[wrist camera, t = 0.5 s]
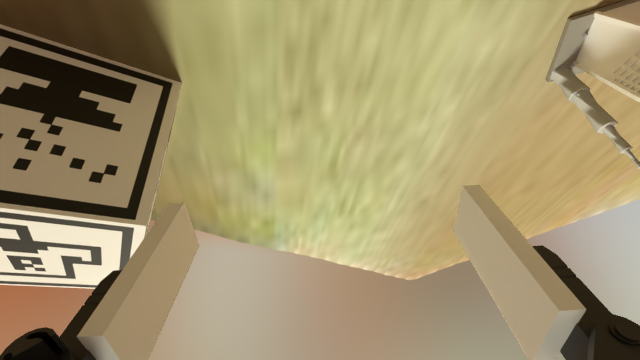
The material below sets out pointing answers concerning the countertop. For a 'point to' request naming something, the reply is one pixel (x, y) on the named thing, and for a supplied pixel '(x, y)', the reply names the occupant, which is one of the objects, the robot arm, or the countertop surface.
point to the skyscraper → (601, 62)
